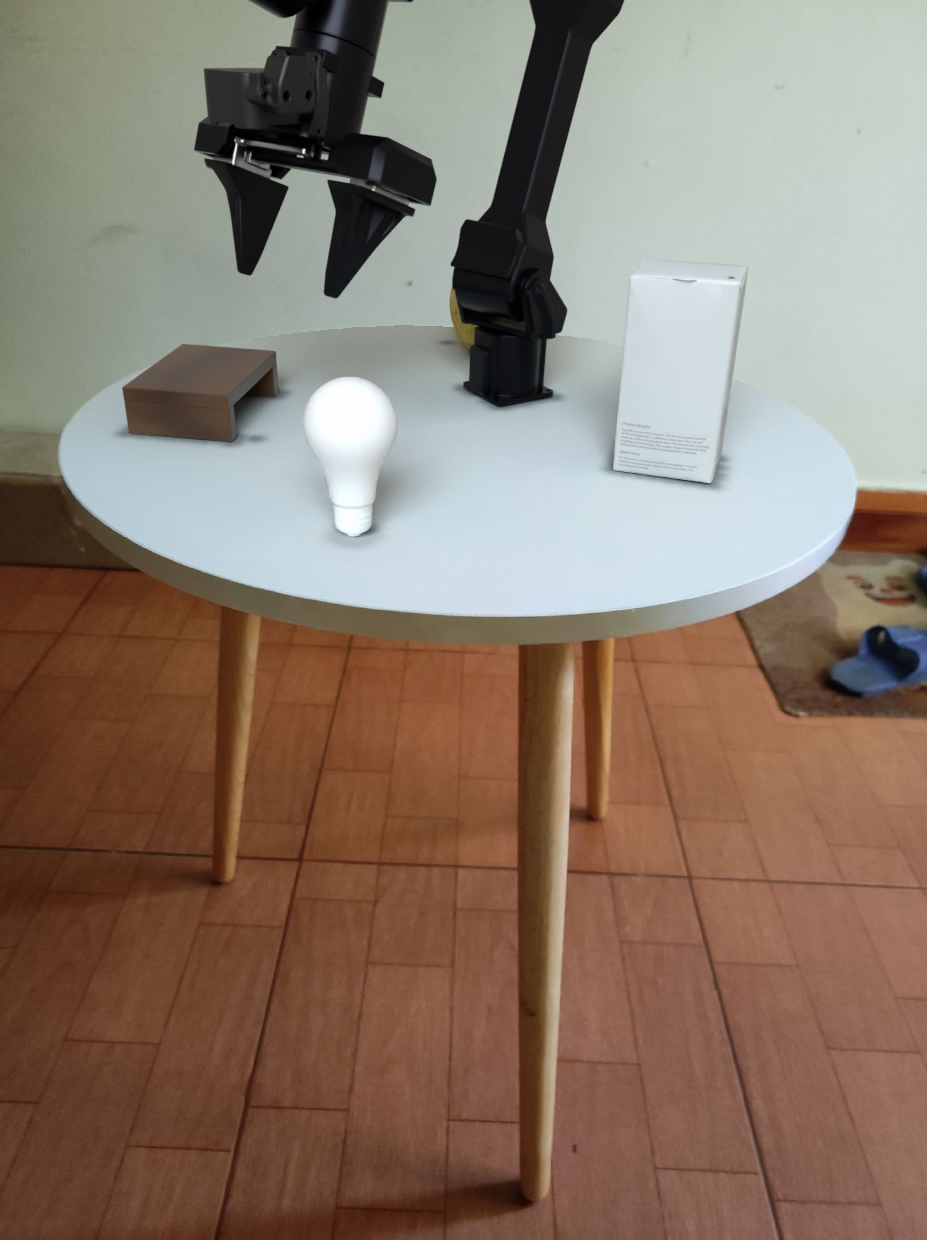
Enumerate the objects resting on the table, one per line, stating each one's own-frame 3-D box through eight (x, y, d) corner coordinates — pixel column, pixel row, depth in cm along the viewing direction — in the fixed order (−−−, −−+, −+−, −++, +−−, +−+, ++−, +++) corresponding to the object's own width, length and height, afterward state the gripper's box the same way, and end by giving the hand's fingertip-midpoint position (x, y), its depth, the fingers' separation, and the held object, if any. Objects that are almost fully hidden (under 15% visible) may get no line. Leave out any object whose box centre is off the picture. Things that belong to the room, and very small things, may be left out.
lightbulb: (349, 508, 72) (345, 358, 67) (415, 532, 69) (416, 377, 64) (290, 537, 68) (280, 380, 62) (358, 564, 65) (353, 401, 59)
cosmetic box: (721, 458, 83) (755, 264, 75) (711, 488, 78) (747, 282, 69) (622, 443, 85) (645, 253, 77) (606, 471, 80) (628, 270, 72)
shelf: (278, 392, 94) (276, 350, 92) (231, 442, 83) (227, 395, 80) (187, 385, 95) (182, 343, 92) (128, 433, 84) (121, 386, 81)
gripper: (150, -8, 65) (111, 237, 69) (348, -3, 55) (289, 284, 59) (276, 58, 74) (236, 272, 78) (467, 74, 64) (409, 318, 68)
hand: (285, 285), depth 71 cm, fingers open, 9 cm apart
